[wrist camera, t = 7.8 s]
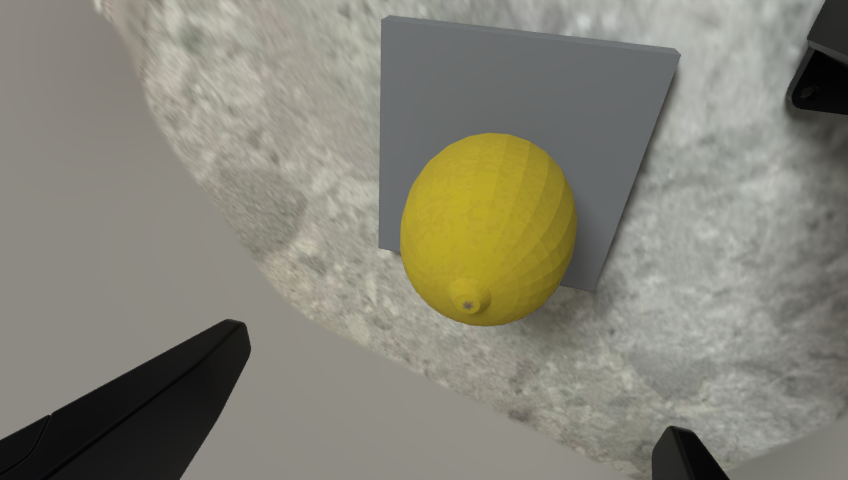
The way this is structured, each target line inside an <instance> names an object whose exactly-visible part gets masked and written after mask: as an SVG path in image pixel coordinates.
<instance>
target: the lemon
mask: <svg viewBox="0 0 848 480" xmlns="http://www.w3.org/2000/svg"><path fill="white" fill-rule="evenodd" d="M576 231H577V213H576V207H575V202H574V197H573V193H572V189H571V187H570V185H569V183H568V181H567V179H566V177H565V175H564V173H563V171H562V170H561V168H560V167H559V165H558V164H557V163H556V162H555V161H554V160H553V159H552V158H551V157H550V156H549V155H548V153H547V152H546V151H544V150H543V149H541V148H540V147H538V146H536V145H535V144H533V143H532V142H530V141H528V140H525V139H522V138H519V137H516V136H513V135H510V134H500V133H484V134H478V135H472V136H469V137H466V138H464V139H462V140H460V141H457V142H455V143H453V144H451V145H449V146H447V147H446V148H445V149H444V150H442V151H441V152H440V153H439V154H437V155H436V156H435V157H434V158H432V159H431V160H430V161H429V162H428V163H427V164H426V166H425V167H424V169H423V170H422V172H421V173H420V175H419V176H418V177H417V179H416V180H415V182H414V183H413V185H412V187H411V189H410V192H409V195H408V198H407V201H406V205H405V208H404V211H403V214H402V219H401V233H400V251H401V257H402V261H403V264H404V268H405V271H406V274H407V276H408V278H409V280H410V282H411V283H412V285H413V287H414V289H415V290H416V292H417V293H418V294H419V295H420V296H421V297H422V298H423V299H424V300H425V302H426V303H427V304H428V305H429V306H430V307H432V308H433V309H435V310H436V311H438V312H439V313H440V314H442V315H444V316H446V317H448V318H450V319H452V320H455V321H457V322H461V323H465V324H468V325H475V326H495V325H503V324H507V323H510V322H513V321H516V320H519V319H522V318H523V317H525V316H527V315H528V314H530V313H531V312H533V311H535V310H536V309H538V308H539V307H541V306H542V304H543V303H544V302H545V301H546V300H547V299H548V298H549V297H550V296H551V295H552V293H553V292H554V291H555V290H556V289H557V287H558V285H559V284H560V282H561V280H562V278H563V276H564V274H565V271H566V269H567V267H568V265H569V263H570V260H571V258H572V255H573V251H574V246H575V238H576Z"/></svg>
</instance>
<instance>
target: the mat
mask: <svg viewBox="0 0 848 480" xmlns="http://www.w3.org/2000/svg"><path fill="white" fill-rule="evenodd" d="M680 56H681V54H680V53H679V52H678V51H677V50H675V49H674V48H665V47H656V46H648V45H639V44H631V43H622V42H613V41H605V40H596V39H588V38H579V37H570V36H562V35H553V34H545V33H536V32H527V31H519V30H510V29H502V28H493V27H484V26H476V25H467V24H459V23H450V22H442V21H433V20H424V19H416V18H407V17H399V16H388V17H386V18H383V19H381V96H380V177H379V248H381V249H386V250H390V251H395V252H400V253H401V251H400V233H401V219H402V214H403V211H404V208H405V205H406V201H407V198H408V195H409V192H410V189H411V187H412V185H413V183H414V182H415V180H416V179H417V177H418V176H419V175H420V173H421V172H422V170H423V169H424V167H425V166H426V164H427V163H428V162H429V161H430V160H431V159H432V158H434V157H435V156H436V155H437V154H439V153H440V152H441V151H442V150H444V149H445V148H446V147H447V146H449V145H451V144H453V143H455V142H457V141H460V140H462V139H464V138H466V137H469V136H472V135H478V134H484V133H500V134H510V135H513V136H516V137H519V138H522V139H525V140H528V141H530V142H532V143H533V144H535V145H536V146H538V147H540V148H541V149H543V150H544V151H546V152H547V153H548V155H549V156H550V157H551V158H552V159H553V160H554V161H555V162H556V163H557V164H558V165H559V167H560V168H561V170H562V171H563V173H564V175H565V177H566V179H567V181H568V183H569V185H570V187H571V189H572V193H573V197H574V202H575V207H576V213H577V231H576V238H575V246H574V251H573V255H572V258H571V260H570V263H569V265H568V267H567V269H566V271H565V274H564V276H563V278H562V280H561V282H560V284H559V285H561V286H566V287H571V288H576V289H580V290H585V291H590V292H593V290H594V288H595V285H596V282H597V280H598V277H599V274H600V271H601V269H602V266H603V263H604V261H605V258H606V255H607V253H608V250H609V247H610V245H611V242H612V239H613V236H614V234H615V231H616V228H617V226H618V223H619V220H620V218H621V215H622V212H623V210H624V207H625V204H626V201H627V199H628V196H629V193H630V191H631V188H632V185H633V183H634V180H635V177H636V175H637V172H638V169H639V166H640V164H641V161H642V158H643V156H644V153H645V150H646V148H647V145H648V142H649V140H650V137H651V134H652V131H653V129H654V126H655V123H656V121H657V118H658V115H659V113H660V110H661V107H662V105H663V102H664V99H665V96H666V94H667V91H668V88H669V86H670V83H671V80H672V78H673V75H674V72H675V70H676V67H677V64H678V62H679V59H680Z"/></svg>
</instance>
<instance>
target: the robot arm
mask: <svg viewBox="0 0 848 480" xmlns="http://www.w3.org/2000/svg"><path fill="white" fill-rule="evenodd" d="M807 40H808V42H809V45H810V47H809V49H808V51H807V53H806V54H805V56H804V58H803V60H802V62H801V64H800V66H799V68H798V70H797V72H796V74H795V76H794V78H793V79H792V81H791V83H790V85H789V87H788V90H787V93H786V96H787V100H788V101H789V102H790V103H791V104H792V105H794V106H795V107H797V108H800V109H805V110H813V111H820V112H828V113H835V114H843V115H848V0H826V1H825V3H824V5H823V7H822V9H821V11H820V13H819V15H818V17H817V19H816V21H815V23H814V24H813V26H812V28H811V30H810V32H809V34H808V36H807ZM809 86H814V87H815V88H814V92H813V93H812V94H811V95H810V96H808V97H806V98H801V97H800V96H801V92H802V91H803V90H804V89H805V88H807V87H809ZM250 352H251V345H250V340H249V335H248V331H247V327H246V325H245V323H243V322H241V321H236V320H232V319H226V320H224V321H221V322H219V323H218V324H216V325H214V326H212V327H210V328H208V329H206V330H205V331H203V332H201V333H199V334H197V335H195V336H193V337H192V338H190V339H188V340H186V341H184V342H182V343H181V344H179V345H177V346H175V347H173V348H171V349H169V350H168V351H166V352H164V353H162V354H160V355H158V356H156V357H155V358H153V359H151V360H149V361H147V362H145V363H143V364H142V365H140V366H138V367H136V368H134V369H132V370H130V371H129V372H127V373H125V374H123V375H121V376H119V377H117V378H116V379H114V380H112V381H110V382H108V383H106V384H104V385H103V386H101V387H99V388H97V389H95V390H93V391H91V392H90V393H88V394H86V395H84V396H82V397H80V398H78V399H77V400H75V401H73V402H71V403H69V404H67V405H65V406H64V407H62V408H60V409H58V410H56V411H54V412H53V413H52V414H51V415H47V416H45V417H43V418H41V419H39V420H37V421H36V422H34V423H32V424H30V425H28V426H26V427H25V428H22V429H20V430H18V431H16V432H15V433H13V434H11V435H9V436H7V437H5V438H3V439H1V440H0V480H180V478H181V477H182V475H183V473H184V472H185V470H186V469H187V467H188V466H189V464H190V462H191V461H192V459H193V458H194V456H195V454H196V453H197V451H198V450H199V448H200V447H201V445H202V443H203V442H204V440H205V439H206V437H207V436H208V434H209V432H210V431H211V429H212V428H213V426H214V424H215V423H216V421H217V419H218V417H219V415H220V414H221V412H222V410H223V408H224V406H225V404H226V402H227V400H228V398H229V396H230V394H231V392H232V390H233V388H234V386H235V384H236V382H237V380H238V378H239V376H240V374H241V372H242V370H243V368H244V366H245V364H246V362H247V360H248V358H249V356H250ZM652 480H730V479H729V478H728V476H727V475H726V474H725V472H724V471H723V470H722V468H721V467H720V466H719V464H718V463H717V462H716V460H715V459H714V458H713V456H712V455H711V454H710V452H709V451H708V450H707V448H706V447H705V446H704V444H703V443H702V442H701V440H700V439H699V438H698V436H697V435H696V434H695V433H694V432H693V431H691V430H689V429H685V428H681V427H676V426H669V427H667V428H666V430H665V431H664V433H663V434H662V436H661V437H660V439H659V441H658V442H657V444H656V445H655V447H654V449H653V452H652Z"/></svg>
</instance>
